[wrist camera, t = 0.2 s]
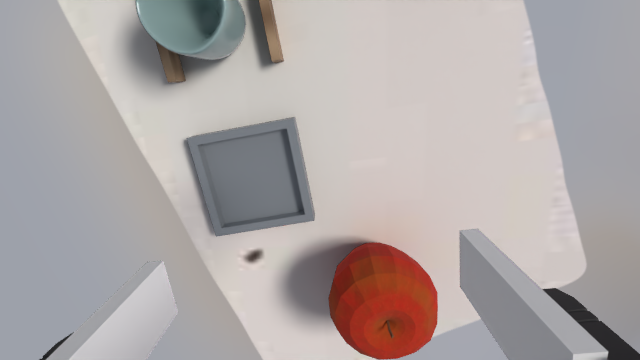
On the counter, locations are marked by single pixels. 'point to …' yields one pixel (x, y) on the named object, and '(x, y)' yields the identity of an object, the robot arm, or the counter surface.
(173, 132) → the counter surface
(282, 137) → the dock cradle
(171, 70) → the dock rails
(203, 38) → the cup
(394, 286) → the apple
